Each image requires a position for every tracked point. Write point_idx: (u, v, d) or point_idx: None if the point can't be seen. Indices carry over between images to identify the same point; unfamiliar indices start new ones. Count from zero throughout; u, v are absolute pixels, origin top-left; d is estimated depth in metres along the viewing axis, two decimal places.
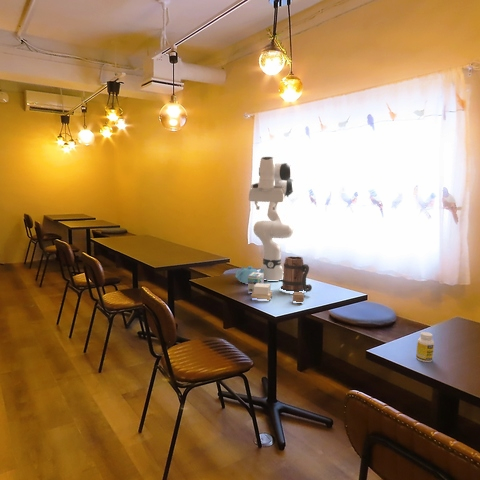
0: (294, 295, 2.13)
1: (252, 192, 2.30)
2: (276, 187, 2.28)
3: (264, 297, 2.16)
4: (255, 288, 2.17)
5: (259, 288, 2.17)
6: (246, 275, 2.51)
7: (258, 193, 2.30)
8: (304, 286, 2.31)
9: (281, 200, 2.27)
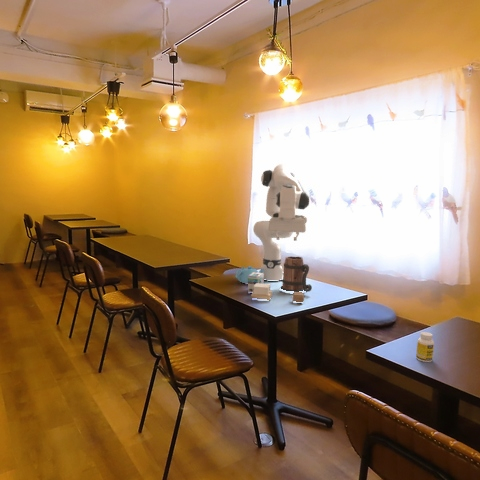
0: (294, 295, 2.13)
1: (272, 222, 2.19)
2: (297, 216, 2.17)
3: (264, 297, 2.16)
4: (255, 288, 2.17)
5: (259, 288, 2.17)
6: (246, 275, 2.51)
7: (278, 223, 2.18)
8: (304, 286, 2.31)
9: (303, 230, 2.15)
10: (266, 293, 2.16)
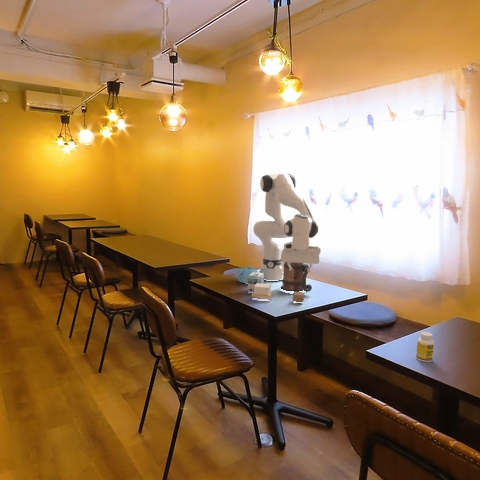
0: (294, 295, 2.13)
1: (285, 252, 2.12)
2: (311, 247, 2.10)
3: (264, 297, 2.16)
4: (255, 288, 2.17)
5: (259, 288, 2.17)
6: (246, 275, 2.51)
7: (291, 253, 2.12)
8: (304, 286, 2.31)
9: (317, 261, 2.09)
10: (267, 293, 2.16)
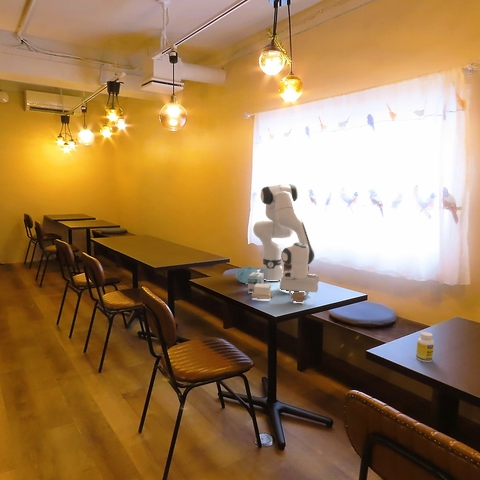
0: (294, 295, 2.13)
1: (284, 281, 2.14)
2: (310, 276, 2.12)
3: (264, 297, 2.16)
4: (256, 288, 2.17)
5: (260, 288, 2.16)
6: (246, 275, 2.51)
7: (290, 282, 2.14)
8: None
9: (316, 290, 2.11)
10: (267, 293, 2.16)
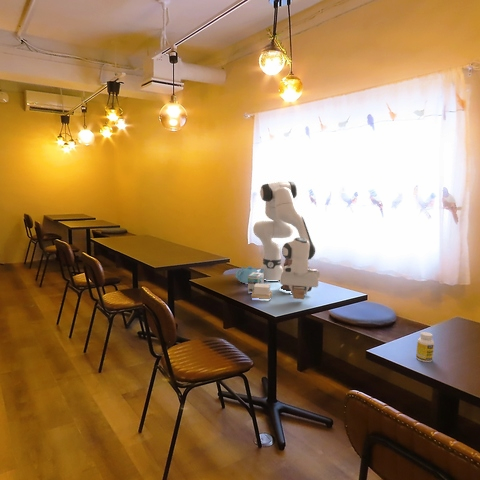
0: (294, 290, 2.13)
1: (284, 276, 2.14)
2: (310, 271, 2.12)
3: (264, 297, 2.16)
4: (256, 288, 2.17)
5: (260, 288, 2.17)
6: (246, 275, 2.51)
7: (291, 277, 2.14)
8: (304, 286, 2.31)
9: (316, 285, 2.11)
10: (267, 293, 2.16)
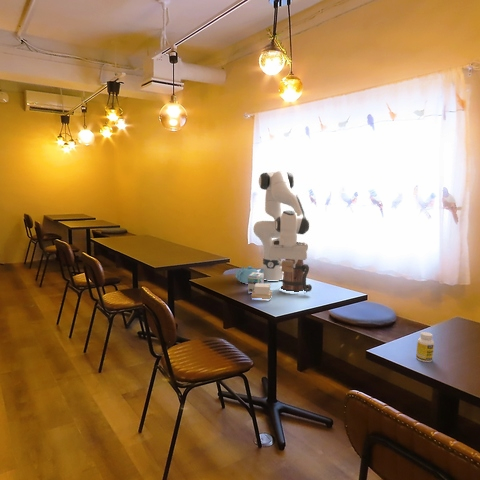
0: (282, 263, 2.13)
1: (273, 249, 2.14)
2: (298, 244, 2.12)
3: (264, 297, 2.17)
4: (256, 288, 2.18)
5: (260, 288, 2.17)
6: (246, 275, 2.51)
7: (279, 250, 2.14)
8: (304, 286, 2.31)
9: (304, 258, 2.11)
10: (267, 293, 2.17)
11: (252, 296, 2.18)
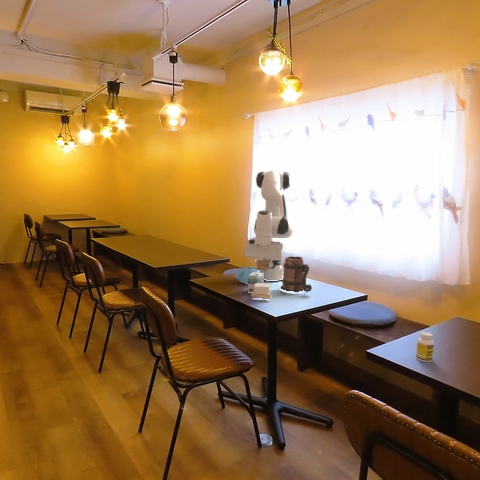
0: (258, 262, 2.17)
1: (248, 248, 2.18)
2: (274, 243, 2.16)
3: (264, 297, 2.17)
4: (256, 288, 2.18)
5: (260, 288, 2.17)
6: (246, 275, 2.51)
7: (255, 249, 2.17)
8: (304, 286, 2.31)
9: (279, 257, 2.15)
10: (267, 293, 2.17)
11: (252, 296, 2.18)
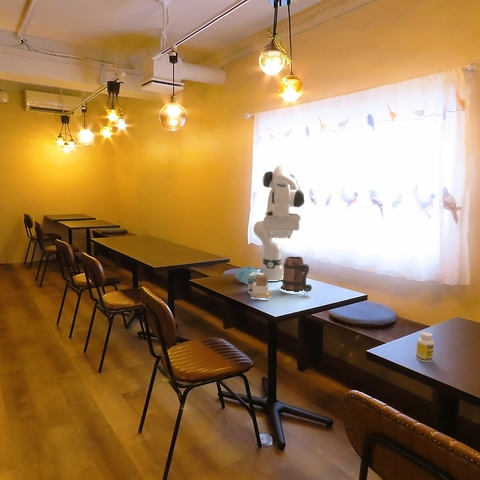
0: (257, 278, 2.19)
1: (266, 220, 2.23)
2: (291, 215, 2.21)
3: (263, 296, 2.18)
4: (254, 287, 2.19)
5: (258, 287, 2.19)
6: (246, 275, 2.51)
7: (273, 221, 2.22)
8: (304, 286, 2.31)
9: (297, 228, 2.19)
10: (265, 292, 2.19)
11: (251, 296, 2.19)
